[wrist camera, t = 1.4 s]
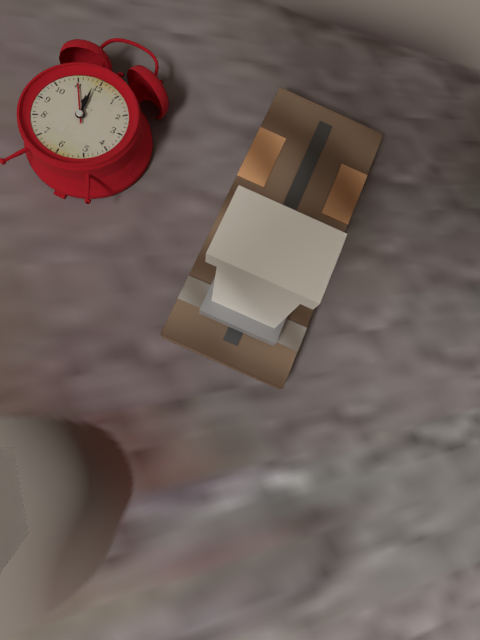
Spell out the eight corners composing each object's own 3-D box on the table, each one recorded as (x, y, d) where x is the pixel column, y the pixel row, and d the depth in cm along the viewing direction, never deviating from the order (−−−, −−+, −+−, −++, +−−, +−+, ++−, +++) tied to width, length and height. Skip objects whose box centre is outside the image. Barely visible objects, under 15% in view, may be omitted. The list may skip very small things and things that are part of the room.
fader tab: (272, 346, 31) (316, 313, 20) (199, 313, 31) (201, 262, 20) (296, 287, 32) (350, 225, 21) (225, 256, 32) (242, 176, 21)
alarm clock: (-27, 153, 30) (57, -32, 30) (17, 181, 37) (87, 28, 37) (103, 212, 31) (186, 28, 31) (125, 230, 37) (194, 77, 37)
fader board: (277, 388, 33) (283, 387, 31) (162, 338, 33) (160, 333, 31) (373, 148, 38) (384, 133, 36) (275, 103, 38) (279, 86, 36)
